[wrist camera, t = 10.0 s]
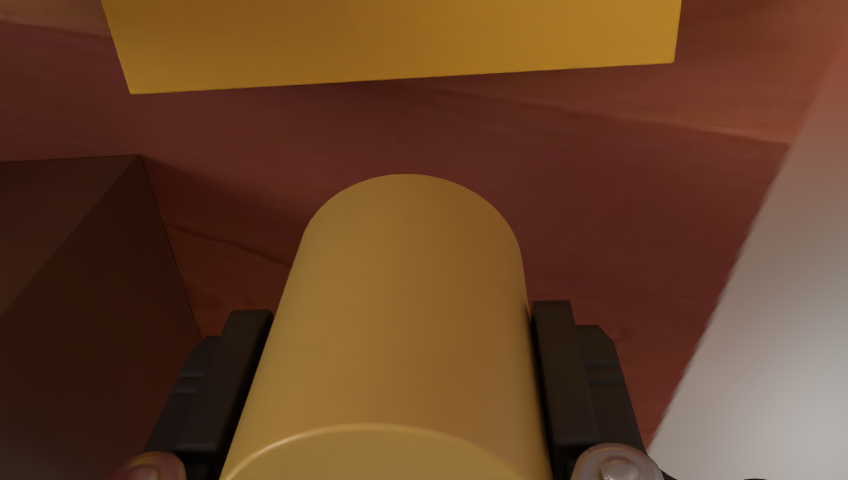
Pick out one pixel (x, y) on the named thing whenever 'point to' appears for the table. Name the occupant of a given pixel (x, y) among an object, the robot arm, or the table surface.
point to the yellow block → (377, 39)
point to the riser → (84, 317)
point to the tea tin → (398, 347)
